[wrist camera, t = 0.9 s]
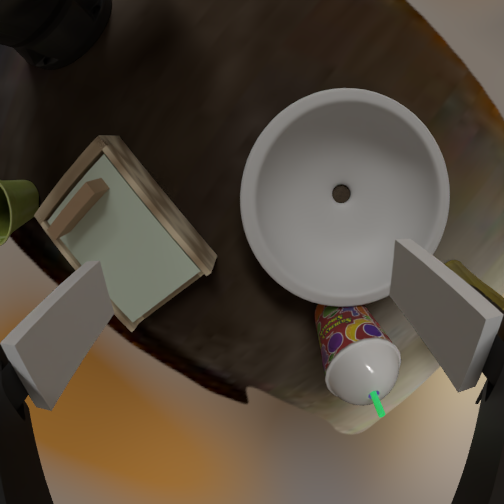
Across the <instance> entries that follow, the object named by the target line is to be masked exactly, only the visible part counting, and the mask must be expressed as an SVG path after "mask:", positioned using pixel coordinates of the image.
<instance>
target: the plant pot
mask: <svg viewBox="0 0 504 504" xmlns="http://www.w3.org/2000/svg"><path fill="white" fill-rule="evenodd" d="M38 209H39V194H38V191H37V189H36V187H35V185H34V184H33V183H32V182H30V181H28V180H9V181H1V180H0V246H1V245H3V244H4V243H5V242H6V241H7V239H8V238H9V236H10V235H11V234H12V232H13V231H15V230H16V229H17V228H19V227H20V226H22V225H23V224H24V223H26V222H27V221H29V220H30V219H32V218H33V217H34V215H35V213H36V212H37V210H38Z"/></svg>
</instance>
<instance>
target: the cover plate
mask: <svg viewBox="0 0 504 504" xmlns="http://www.w3.org/2000/svg"><path fill="white" fill-rule="evenodd" d="M48 223H49V224H50V227H49V228H48V229H47V231H48V232H49V234H50V235H51V236H52V238H53V239H54V240H57V239H59V238H60V239H61V240H62V241H63V243H64V244H65V245H66V247H67V248H68V249H69V250H70V252H71V253H72V254H73V255H74V257H75V258H76V259H77V260H78V262H79V263H80V264H81V265H83V264H84V263H85V262H87V261H100V263H101V267H102V271H103V275H104V278H105V282H106V286H107V289H108V293H109V296H110V299H111V300H112V301H113V302H114V303H115V304H116V305H117V306H118V308H119V309H120V310H121V311H122V312H123V313H124V314H125V315H126V316H127V317H128V318H129V319H130V320H131V321H132V322H134V321H136V320H137V319H138V318H140V317H141V316H142V315H143V314H145V313H146V312H147V311H149V310H150V309H151V308H153V307H154V306H155V305H156V304H158V303H159V302H160V301H162V300H163V299H164V298H166V297H167V296H168V295H170V294H171V293H172V292H174V291H175V290H176V289H177V288H179V287H180V286H181V285H183V284H184V283H185V282H187V281H188V280H189V279H191V278H192V277H193V276H195V275H196V274H197V273H199V272H200V271H201V269H200V268H199V267H198V266H197V265H196V264H195V263H194V261H193V260H192V259H191V258H190V257H189V256H188V254H187V253H186V252H185V251H184V250H183V249H182V247H181V246H180V245H179V244H178V243H177V242H176V240H175V239H174V238H173V237H172V236H171V235H170V233H169V232H168V231H167V230H166V229H165V227H164V226H163V225H162V224H161V223H160V221H159V220H158V219H157V218H156V217H155V215H154V214H153V213H152V212H151V211H150V209H149V208H148V207H147V206H146V205H145V203H144V202H143V201H142V200H141V198H140V197H139V196H138V195H137V193H136V192H135V191H134V190H133V188H132V187H131V186H130V185H129V184H128V182H127V181H126V180H125V178H124V177H123V176H122V175H121V173H120V172H119V171H118V170H117V168H116V167H115V166H114V165H113V163H112V162H111V161H110V159H109V158H108V157H107V156H106V154H103V156H102V157H101V158H100V159H99V160H98V161H97V162H96V163H95V164H94V165H93V166H92V168H91V169H90V170H89V171H88V172H87V173H86V174H85V175H84V177H83V178H82V179H81V180H80V181H79V182H78V184H77V185H76V186H75V187H74V188H73V190H72V191H71V192H70V193H69V194H68V196H67V197H66V198H65V199H64V201H63V202H62V203H61V204H60V206H59V207H58V208H57V209H56V211H55V212H54V213H53V215H52V216H51V217H50V219H49V220H48Z"/></svg>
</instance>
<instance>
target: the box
mask: <svg viewBox="0 0 504 504" xmlns="http://www.w3.org/2000/svg"><path fill="white" fill-rule="evenodd" d="M103 154H106V156H107V157H108V158H109V159H110V161H111V162H112V163H113V165H114V166H115V167H116V168H117V170H118V171H119V172H120V173H121V175H122V176H123V177H124V178H125V180H126V181H127V182H128V184H129V185H130V186H131V187H132V188H133V190H134V191H135V192H136V193H137V195H138V196H139V197H140V198H141V200H142V201H143V202H144V203H145V205H146V206H147V207H148V208H149V209H150V211H151V212H152V213H153V214H154V215H155V217H156V218H157V219H158V220H159V221H160V223H161V224H162V225H163V226H164V227H165V229H166V230H167V231H168V232H169V233H170V235H171V236H172V237H173V238H174V239H175V240H176V242H177V243H178V244H179V245H180V246H181V247H182V249H183V250H184V251H185V252H186V253H187V254H188V256H189V257H190V258H191V259H192V260H193V261H194V263H195V264H196V265H197V266H198V267H199V268H200V269H201V271H200V272H199V273H197V274H196V275H195V276H193V277H192V278H191V279H189V280H188V281H187V282H185V283H184V284H183V285H181V286H180V287H179V288H177V289H176V290H175V291H174V292H172V293H171V294H170V295H168V296H167V297H166V298H164V299H163V300H162V301H160V302H159V303H158V304H156V305H155V306H154V307H153V308H151V309H150V310H149V311H147V312H146V313H145V314H143V315H142V316H141V317H140V318H138V319H137V320H136V321H134V322H132V321H131V320H130V319H129V318H128V317H127V316H126V315H125V314H124V313H123V312H122V311H121V310H120V309H119V308H118V306H117V305H116V304H115V303H114V302H113V301H112V300H111V299H110V300H111V303H112V306H113V310H114V315H115V316H116V317H117V318H118V319H119V320H120V321H121V322H122V323H123V324H124V325H125V326H126V327H127V328H128V329H129V330H130V331H131V332H132V331H134V330H135V328H136V327H137V325H138V323H140V322H141V321H142V320H144V319H145V318H146V317H148V316H149V315H150V314H152V313H153V312H154V311H156V310H157V309H158V308H160V307H161V306H162V305H164V304H165V303H166V302H168V301H169V300H170V299H172V298H173V297H174V296H176V295H177V294H178V293H180V292H181V291H182V290H184V289H185V288H186V287H188V286H189V285H190V284H192V283H193V282H194V281H196V280H197V279H198V278H200V277H201V276H202V275H204V274H205V275H206V276H208V275H209V274H210V273H211V272H212V269H213V266H214V263H215V261H216V258H217V255H216V253H215V252H214V251H213V250H212V249H211V247H210V246H209V245H208V244H207V243H206V242H205V240H204V239H203V238H202V237H201V236H200V234H199V233H198V232H197V231H196V230H195V229H194V227H193V226H192V225H191V224H190V223H189V221H188V220H187V219H186V218H185V217H184V215H183V214H182V213H181V212H180V211H179V209H178V208H177V207H176V206H175V204H174V203H173V202H172V201H171V200H170V198H169V197H168V196H167V195H166V194H165V192H164V191H163V190H162V189H161V187H160V186H159V185H158V184H157V183H156V181H155V180H154V179H153V178H152V176H151V175H150V174H149V173H148V171H147V170H146V169H145V168H144V166H143V165H142V164H141V163H140V162H139V160H138V159H137V158H136V157H135V155H134V154H133V153H132V152H131V150H130V149H129V148H128V147H127V145H126V144H125V143H124V141H123V140H122V139H121V138H120V136H112V135H98V136H97V137H96V138H95V139H94V141H93V142H92V143H91V144H90V145H89V146H88V147H87V148H86V149H85V151H84V152H83V153H82V154H81V155H80V156H79V158H78V159H77V160H76V161H75V162H74V163H73V165H72V166H71V167H70V168H69V169H68V171H67V172H66V173H65V174H64V176H63V177H62V178H61V179H60V181H59V182H58V183H57V185H56V186H55V187H54V188H53V190H52V191H51V192H50V194H49V195H48V196H47V198H46V199H45V200H44V202H43V203H42V205H41V206H40V207H39V209H38V210H37V212H36V213H35V215H34V216H35V218H36V219H37V221H38V222H39V223H40V225H41V226H42V228H43V229H44V230H45V232H46V233H47V234H48V236H49V237H50V239H51V240H52V241H53V242H54V244H55V245H56V246H57V248H58V249H59V250H60V252H61V253H62V254H63V255H64V257H65V258H66V259H67V260H68V262H69V263H70V264H71V265H72V267H73V268H74V269H75V270H77V269H78V268H80V267H81V266H82V265H81V264H80V263H79V262H78V260H77V259H76V258H75V257H74V255H73V254H72V253H71V252H70V250H69V249H68V248H67V247H66V245H65V244H64V243H63V241H62V240H61V239H60V238H59V239H57V240H54V239H53V238H52V236H51V235H50V234H49V232H48V231H47V229H48V228H49V227H50V224H49V223H48V220H49V219H50V217H51V216H52V215H53V213H54V212H55V211H56V209H57V208H58V207H59V206H60V204H61V203H62V202H63V201H64V199H65V198H66V197H67V196H68V194H69V193H70V192H71V191H72V190H73V188H74V187H75V186H76V185H77V184H78V182H79V181H80V180H81V179H82V178H83V177H84V175H85V174H86V173H87V172H88V171H89V170H90V169H91V168H92V166H93V165H94V164H95V163H96V162H97V161H98V160H99V159H100V158H101V157H102V156H103Z"/></svg>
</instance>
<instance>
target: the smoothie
mask: <svg viewBox="0 0 504 504" xmlns="http://www.w3.org/2000/svg"><path fill="white" fill-rule="evenodd" d="M315 324H316V329H317V334H318V340H319V345H320V351H321V356H322V362H323V368H324V373H325V382H326V385H327V388H328V389H329V391H330V392H331V393H332V394H333V395H335V396H337V397H339V398H340V399H342V400H343V401H345V402H348V403H350V404H353V405H361V406H364V405H370V404H373V403H374V405H375V408H376V411H377V413H378V416H379V417H383V416H385V412H384V409H383V407H382V405H381V402H380V400H381V399H383V398H384V397H385V396H386V395H388V394H389V393H390V391H391V390H392V388H393V387H394V385H395V383H396V381H397V377H398V374H399V367H400V364H401V355H400V352H399V350H398V348H397V347H396V345H395V344H393V343H392V341H391V340H390V339H389V337H388V336H387V335H386V333H385V332H384V331H383V329H382V328H381V327H380V325H379V324H378V323H377V321H376V320H375V319H374V317H373V316H372V315H371V314H370V312H369V311H368V310H367V308H366V307H365V306H364V305H359V306H351V307H335V306H327V305H321V304H318V305H317V308H316V310H315Z"/></svg>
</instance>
